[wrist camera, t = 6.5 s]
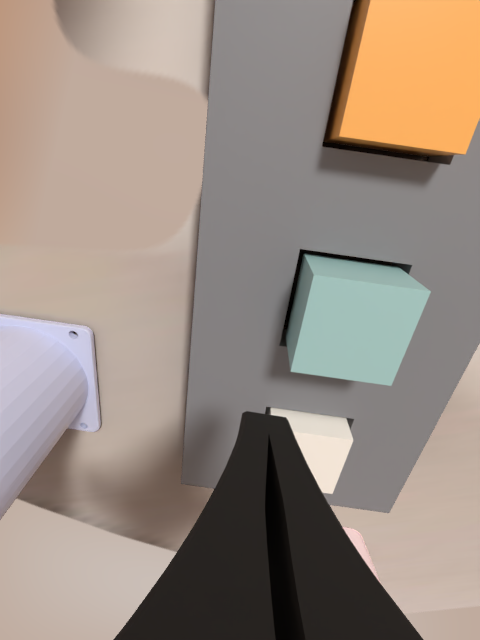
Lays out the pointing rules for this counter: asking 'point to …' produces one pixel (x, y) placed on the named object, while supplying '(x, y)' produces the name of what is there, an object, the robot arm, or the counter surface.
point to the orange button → (408, 77)
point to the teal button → (352, 319)
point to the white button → (320, 443)
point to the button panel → (317, 235)
